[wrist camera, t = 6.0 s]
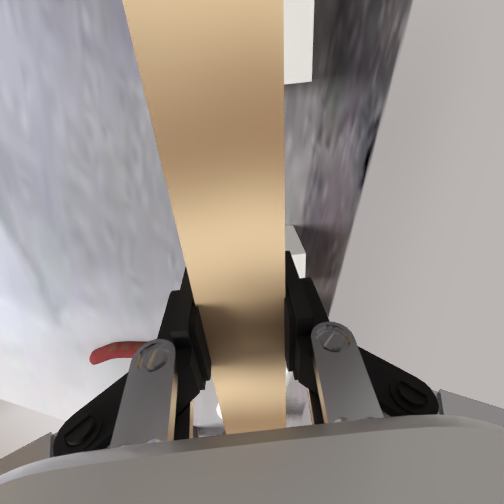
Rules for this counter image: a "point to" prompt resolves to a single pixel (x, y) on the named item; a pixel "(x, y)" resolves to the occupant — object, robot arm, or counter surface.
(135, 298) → the counter surface
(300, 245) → the end caps
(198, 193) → the slat
